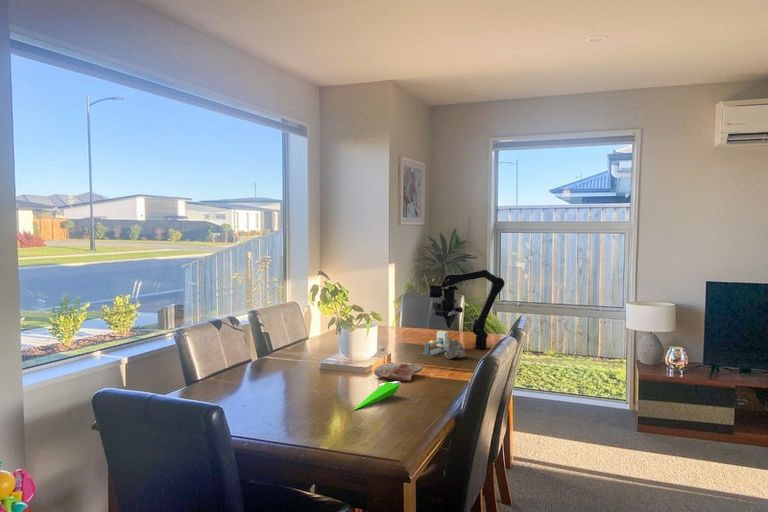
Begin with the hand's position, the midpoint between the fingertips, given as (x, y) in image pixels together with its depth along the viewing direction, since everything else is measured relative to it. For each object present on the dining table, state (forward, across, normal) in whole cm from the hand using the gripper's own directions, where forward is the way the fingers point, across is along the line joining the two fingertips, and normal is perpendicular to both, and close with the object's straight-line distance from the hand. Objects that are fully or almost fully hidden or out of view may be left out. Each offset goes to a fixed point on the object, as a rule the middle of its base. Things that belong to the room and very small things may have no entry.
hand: (448, 327), depth 296 cm
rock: (+11, +17, +14) cm, 25 cm away
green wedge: (+11, +93, +26) cm, 97 cm away
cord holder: (+11, +12, 0) cm, 16 cm away
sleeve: (+9, +6, 0) cm, 11 cm away
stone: (+11, +62, +13) cm, 65 cm away
